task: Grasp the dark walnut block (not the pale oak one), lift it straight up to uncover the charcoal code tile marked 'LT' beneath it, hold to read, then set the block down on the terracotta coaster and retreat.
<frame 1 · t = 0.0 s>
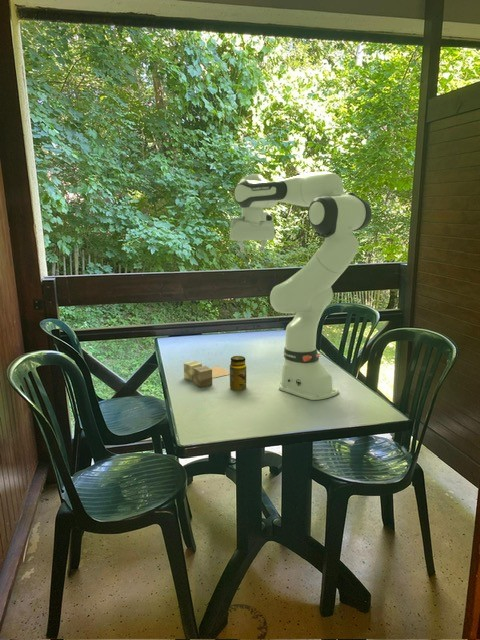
hand: (252, 251, 177), 48 cm above the table, fingers open, 8 cm apart
coaster: (214, 373, 175), on the table
code tile 2: (193, 379, 169), on the table
condiment: (235, 389, 158), on the table
walnut block: (203, 384, 162), resting on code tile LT
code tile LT: (203, 385, 162), on the table
oak block: (193, 378, 168), resting on code tile 2
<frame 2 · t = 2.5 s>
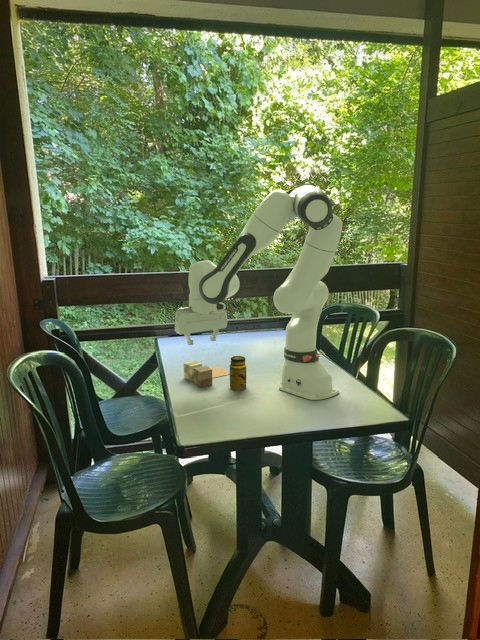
hand: (201, 342, 159), 16 cm above the table, fingers open, 8 cm apart
nothing on the table moved.
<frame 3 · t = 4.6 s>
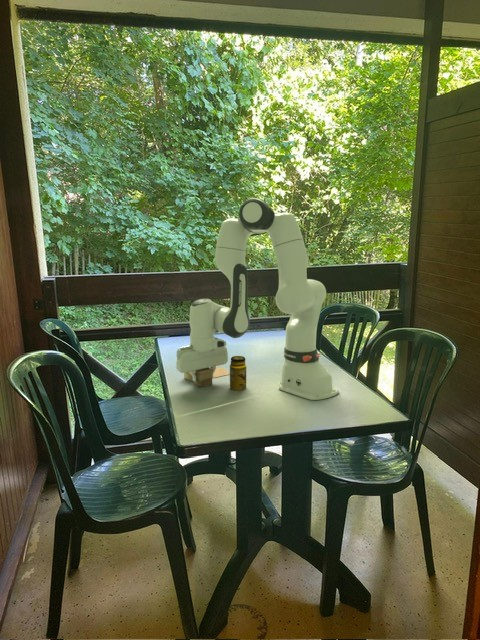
hand: (203, 379, 162), 2 cm above the table, fingers closed on walnut block, 5 cm apart
walnut block: (203, 384, 162), resting on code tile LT, touching gripper
everything else where it was.
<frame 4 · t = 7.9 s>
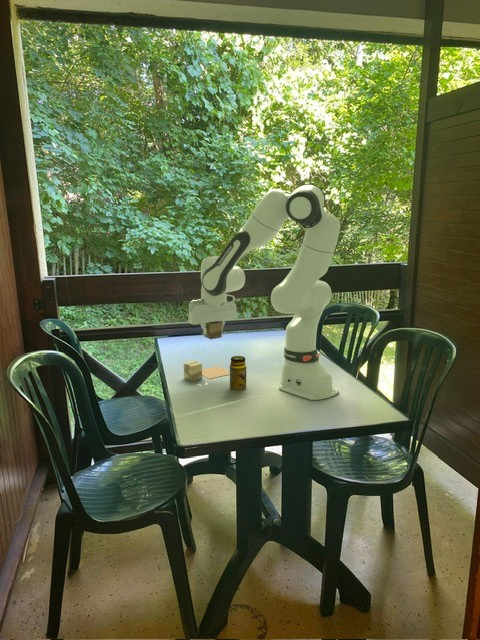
hand: (213, 332, 171), 17 cm above the table, fingers closed on walnut block, 5 cm apart
walnut block: (212, 337, 171), point 15 cm above the table, touching gripper
everything else where it was.
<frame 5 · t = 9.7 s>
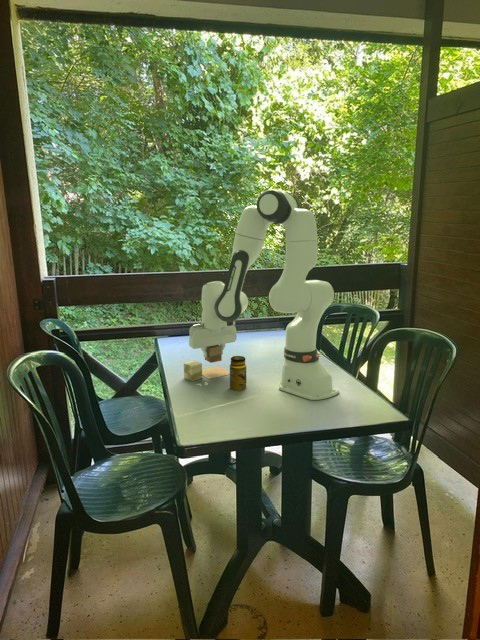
hand: (213, 355, 174), 7 cm above the table, fingers closed on walnut block, 5 cm apart
walnut block: (213, 360, 174), point 6 cm above the table, touching gripper
everything else where it was.
when the fingers open (4 cm above the table, at t = 11.3 s): walnut block drops 1 cm, resting on coaster.
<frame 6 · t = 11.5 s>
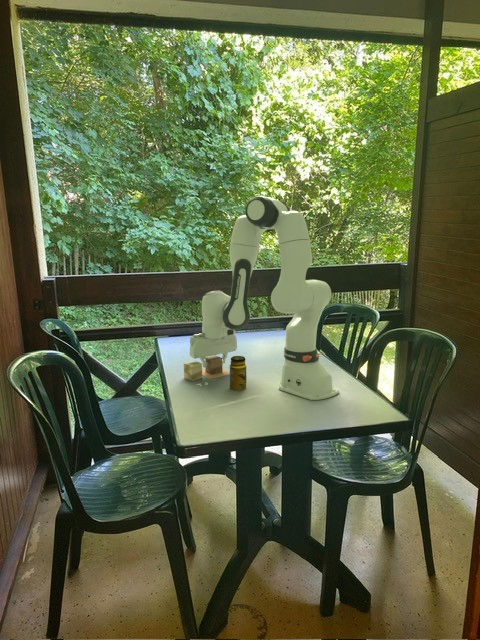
hand: (214, 365, 174), 4 cm above the table, fingers open, 7 cm apart
walnut block: (214, 372, 175), point 1 cm above the table, touching coaster
everything else where it was.
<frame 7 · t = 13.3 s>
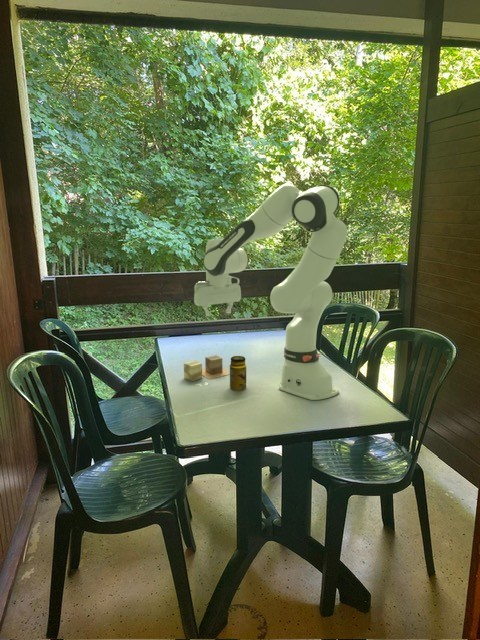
hand: (218, 314, 174), 24 cm above the table, fingers open, 8 cm apart
nothing on the table moved.
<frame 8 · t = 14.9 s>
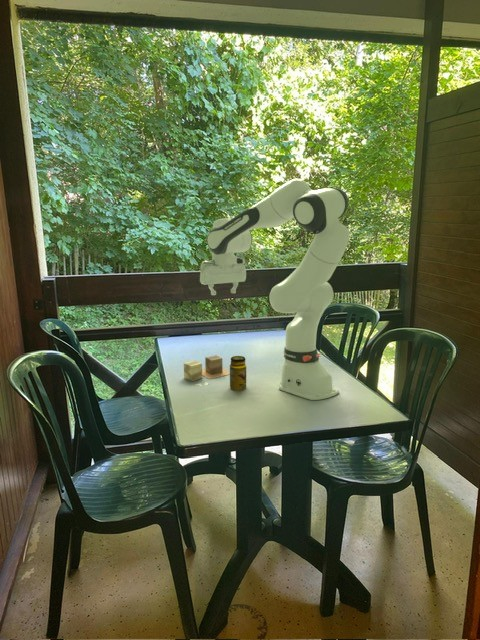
hand: (223, 294, 177), 31 cm above the table, fingers open, 8 cm apart
nothing on the table moved.
at the end: walnut block inside the target area on the coaster (0.2 cm from its centre), point 0.6 cm above the coaster's base; walnut block tilted 0°; walnut block moved 13.7 cm from its start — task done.
